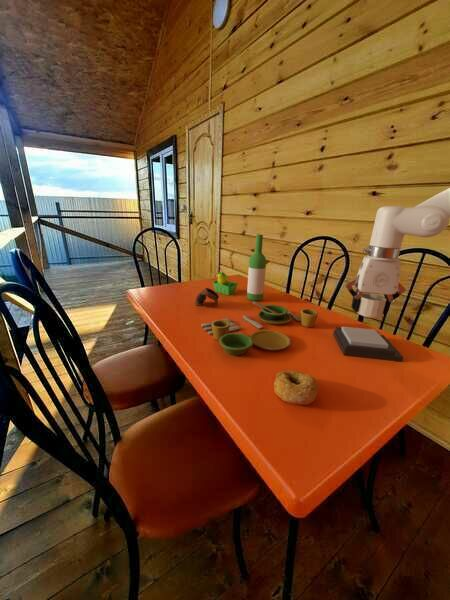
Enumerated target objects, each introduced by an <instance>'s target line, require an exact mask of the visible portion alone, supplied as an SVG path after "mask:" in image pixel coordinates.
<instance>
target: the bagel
mask: <svg viewBox="0 0 450 600" xmlns="http://www.w3.org/2000/svg"><path fill="white" fill-rule="evenodd" d="M275 376H276V377H275V379H274V381H273V392H274V393H275V395H276V396H277V397H278V398H280V399H281V400H282V401H283V402H285V403H289V404H293V405H300V406H307V405H310V404H312V403H313V402H314V401H316V398H317V396H318V394H319V392H320V391H319V390H320V388H319V382H318V381H317V378H315V377H314V376H312V375H311V374H306V373H303V372H301V371H299V370H280V371H278V372H277V374H275Z"/></svg>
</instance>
